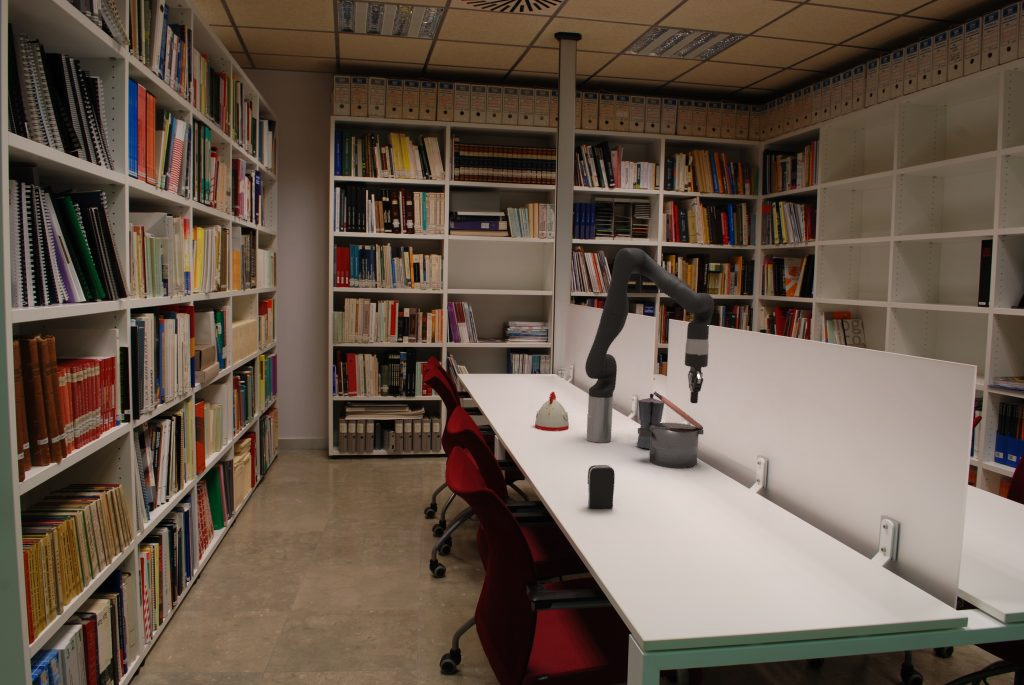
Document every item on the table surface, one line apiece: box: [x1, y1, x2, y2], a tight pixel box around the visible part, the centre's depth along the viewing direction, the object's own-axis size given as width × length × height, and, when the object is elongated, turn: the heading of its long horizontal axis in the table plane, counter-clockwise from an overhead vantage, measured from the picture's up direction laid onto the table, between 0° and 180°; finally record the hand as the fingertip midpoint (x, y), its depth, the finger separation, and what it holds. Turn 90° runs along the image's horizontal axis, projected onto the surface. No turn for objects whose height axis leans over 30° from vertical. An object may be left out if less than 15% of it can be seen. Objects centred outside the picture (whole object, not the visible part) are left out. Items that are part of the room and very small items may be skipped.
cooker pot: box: [637, 422, 704, 469], centre depth 239 cm, size 21×16×12 cm
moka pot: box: [636, 393, 665, 450], centre depth 259 cm, size 10×15×20 cm, turn 174°
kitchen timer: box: [534, 391, 570, 432], centre depth 289 cm, size 14×14×15 cm
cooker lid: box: [652, 391, 704, 430], centre depth 238 cm, size 20×17×1 cm
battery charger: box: [587, 464, 616, 509], centre depth 190 cm, size 7×4×11 cm, turn 98°
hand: (693, 402), depth 238 cm, fingers closed
